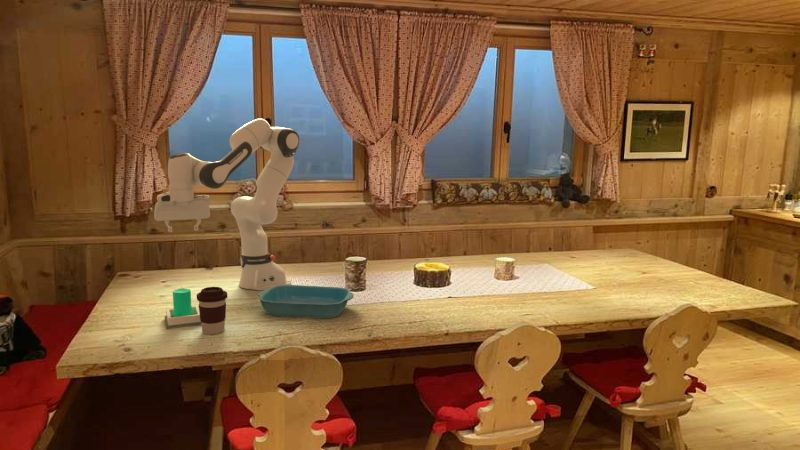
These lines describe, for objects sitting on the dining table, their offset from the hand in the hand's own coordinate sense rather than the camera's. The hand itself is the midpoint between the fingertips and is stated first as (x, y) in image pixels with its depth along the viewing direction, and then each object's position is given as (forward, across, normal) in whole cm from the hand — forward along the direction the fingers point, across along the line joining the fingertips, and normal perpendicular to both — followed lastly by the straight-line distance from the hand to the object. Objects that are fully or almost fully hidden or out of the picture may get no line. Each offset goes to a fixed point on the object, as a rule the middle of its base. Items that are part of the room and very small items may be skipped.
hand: (183, 230), depth 220 cm
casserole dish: (+30, -41, +27) cm, 57 cm away
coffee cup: (+29, -5, +37) cm, 47 cm away
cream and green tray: (+29, +2, +23) cm, 37 cm away
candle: (+28, +4, +23) cm, 36 cm away
